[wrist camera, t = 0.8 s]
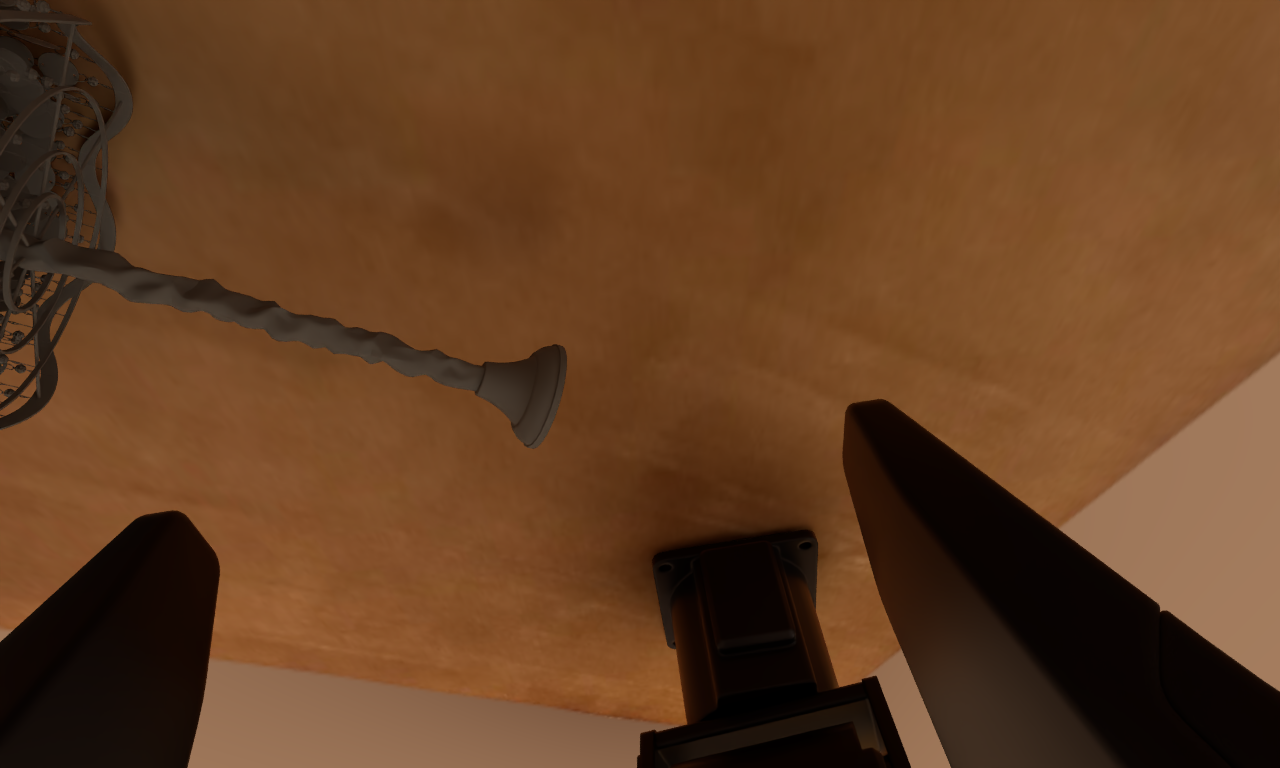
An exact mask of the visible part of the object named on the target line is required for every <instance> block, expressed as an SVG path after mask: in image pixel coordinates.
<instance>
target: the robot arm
mask: <svg viewBox="0 0 1280 768" xmlns="http://www.w3.org/2000/svg"><path fill="white" fill-rule="evenodd" d="M843 466H844V472H845V476H846V480H847V483H848V487H849V490H850V494H851V497H852V501H853V504H854V508H855V511H856V515H857V518H858V522H859V525H860V529H861V532H862V536H863V540H864V543H865V547H866V550H867V554H868V557H869V561H870V564H871V568H872V571H873V575H874V578H875V581H876V585H877V588H878V591H879V594H880V597H881V600H882V602H883V605H884V607H885V610H886V613H887V615H888V618H889V620H890V622H891V625H892V627H893V630H894V632H895V634H896V637H897V639H898V642H899V644H900V646H901V649H902V651H903V653H904V656H905V658H906V660H907V663H908V665H909V668H910V670H911V673H912V675H913V677H914V680H915V682H916V684H917V687H918V689H919V692H920V694H921V696H922V698H923V701H924V704H925V706H926V708H927V711H928V713H929V715H930V718H931V720H932V723H933V725H934V727H935V730H936V732H937V734H938V737H939V739H940V742H941V744H942V747H943V749H944V751H945V754H946V756H947V758H948V761H949V763H950V766H951V768H1280V691H1278V690H1276V689H1275V688H1273V687H1272V686H1270V685H1269V684H1267V683H1266V682H1264V681H1263V680H1262V679H1260V678H1259V677H1257V676H1256V675H1255V674H1253V673H1252V672H1251V671H1249V670H1248V669H1246V668H1245V667H1244V666H1242V665H1241V664H1239V663H1238V662H1237V661H1235V660H1234V659H1232V658H1231V657H1230V656H1228V655H1227V654H1226V653H1224V652H1223V651H1221V650H1220V649H1219V648H1217V647H1215V646H1214V645H1213V644H1211V643H1210V642H1209V641H1207V640H1206V639H1204V638H1203V637H1202V636H1200V635H1199V634H1198V633H1196V632H1195V631H1194V630H1193V629H1191V628H1190V627H1189V626H1187V625H1186V624H1185V623H1183V622H1182V621H1181V620H1179V619H1178V618H1176V617H1175V616H1174V615H1173V614H1171V613H1170V612H1168V611H1161V612H1160V606H1159V605H1158V604H1157V603H1156V602H1155V601H1153V600H1152V599H1151V598H1149V597H1148V596H1147V595H1146V594H1144V593H1143V592H1141V591H1140V590H1139V589H1138V588H1136V587H1135V586H1133V585H1132V584H1131V583H1130V582H1128V581H1127V580H1126V579H1124V578H1123V577H1121V576H1120V575H1119V574H1118V573H1116V572H1115V571H1114V570H1112V569H1111V568H1110V567H1108V566H1107V565H1106V564H1104V563H1103V562H1102V561H1100V560H1099V559H1097V558H1096V557H1095V556H1094V555H1092V554H1091V553H1090V552H1088V551H1087V550H1086V549H1084V548H1083V547H1082V546H1080V545H1079V544H1078V543H1076V542H1075V541H1074V540H1072V539H1071V538H1070V537H1068V536H1067V535H1066V534H1064V533H1063V532H1062V531H1060V530H1059V529H1058V528H1056V527H1055V526H1054V525H1052V524H1051V523H1050V522H1048V521H1047V520H1046V519H1044V518H1043V517H1042V516H1040V515H1039V514H1038V513H1036V512H1035V511H1034V510H1032V509H1031V508H1030V507H1028V506H1027V505H1026V504H1024V503H1023V502H1022V501H1020V500H1019V499H1018V498H1016V497H1015V496H1014V495H1012V494H1011V493H1010V492H1008V491H1007V490H1006V489H1004V488H1003V487H1002V486H1000V485H999V484H998V483H996V482H995V481H994V480H992V479H991V478H990V477H988V476H987V475H986V474H984V473H983V472H982V471H980V470H979V469H978V468H976V467H975V466H974V465H973V464H971V463H970V462H969V461H967V460H966V459H965V458H963V457H962V456H961V455H959V454H958V453H957V452H955V451H954V450H953V449H951V448H950V447H949V446H947V445H946V444H945V443H943V442H942V441H941V440H939V439H938V438H937V437H935V436H934V435H933V434H931V433H930V432H929V431H927V430H926V429H925V428H923V427H922V426H921V425H919V424H918V423H917V422H915V421H914V420H913V419H911V418H910V417H909V416H907V415H906V414H905V413H903V412H902V411H901V410H899V409H898V408H897V407H895V406H894V405H893V404H891V403H890V402H888V401H886V400H883V399H877V400H870V401H864V402H857V403H852V404H850V405H849V406H848V407H847V410H846V412H845V424H844V440H843ZM817 558H818V542H817V539H816V536H815V533H814V532H812V531H810V530H800V531H794V532H788V533H781V534H775V535H769V536H762V537H756V538H750V539H744V540H737V541H731V542H725V543H718V544H712V545H706V546H700V547H693V548H687V549H681V550H674V551H668V552H662V553H659V554H657V555H655V556H654V557H653V559H652V567H653V573H654V579H655V584H656V589H657V594H658V599H659V604H660V610H661V615H662V620H663V625H664V630H665V635H666V640H667V645H668V647H670V648H672V649H676V652H677V658H678V665H679V672H680V679H681V685H682V692H683V699H684V706H685V713H686V719H687V725H683V726H679V727H675V728H671V729H667V730H663V731H659V732H656V730H652V731H648V732H643V733H641V734H640V755H639V756H638V757H637V768H911V766H910V763H909V761H908V758H907V755H906V753H905V750H904V747H903V745H902V742H901V739H900V737H899V734H898V731H897V729H896V726H895V723H894V721H893V718H892V715H891V713H890V710H889V707H888V705H887V702H886V700H885V697H884V694H883V692H882V689H881V687H880V684H879V681H878V678H877V676H873V677H868V678H864V679H862V682H860V683H855V684H851V685H847V686H843V687H839V686H838V682H837V679H836V676H835V673H834V669H833V666H832V663H831V660H830V656H829V653H828V650H827V647H826V643H825V640H824V637H823V634H822V630H821V627H820V624H819V620H818V617H817V614H816V584H817ZM219 577H220V566H219V561H218V558H217V556H216V553H215V552H214V550H213V549H212V548H211V546H210V545H209V544H208V542H207V541H206V540H205V539H204V537H203V536H202V535H201V533H200V532H199V531H198V530H197V528H196V527H195V526H194V525H193V523H192V522H191V521H190V519H189V518H188V517H187V516H186V515H185V514H183V513H181V512H179V511H166V512H160V513H154V514H147V515H144V516H141V517H139V518H137V519H135V520H134V521H133V522H132V523H131V524H130V525H128V526H127V527H126V528H125V529H124V530H123V531H122V532H121V533H120V534H119V535H118V536H116V537H115V538H114V539H113V540H112V541H111V542H110V543H109V544H108V545H107V546H105V547H104V548H103V549H102V550H101V551H100V552H99V553H98V554H97V555H96V556H94V557H93V558H92V559H91V560H90V561H89V562H88V563H87V564H86V565H85V566H83V567H82V568H81V569H80V570H79V571H78V572H77V573H76V574H75V575H74V576H72V577H71V578H70V579H69V580H68V581H67V582H66V583H65V584H64V585H63V586H61V587H60V588H59V589H58V590H57V591H56V592H55V593H54V594H53V595H52V596H50V597H49V598H48V599H47V600H46V601H45V602H44V603H43V604H42V605H41V606H39V607H38V608H37V609H36V610H35V611H34V612H33V613H32V614H31V615H30V616H28V617H27V618H26V619H25V620H24V621H23V622H22V623H21V624H20V625H19V626H17V627H16V628H15V629H14V630H13V631H12V632H11V633H10V634H9V635H8V636H7V637H6V638H4V639H3V640H2V641H1V642H0V768H187V767H188V763H189V759H190V754H191V750H192V746H193V742H194V738H195V734H196V730H197V725H198V721H199V716H200V712H201V707H202V703H203V697H204V691H205V685H206V678H207V671H208V663H209V656H210V648H211V640H212V632H213V624H214V616H215V608H216V601H217V593H218V585H219Z"/></svg>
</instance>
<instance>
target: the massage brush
mask: <svg viewBox="0 0 1280 768" xmlns="http://www.w3.org/2000/svg"><path fill="white" fill-rule="evenodd" d="M15 5H17V6H15ZM34 5H35V6H34ZM34 5H30V3H29V2H28V1H27V0H0V23H1V24H3V25H5V26H7V27H9V28H12V29H10V30H15V29H16V31H17V30H26V29H27V28H28V27H29V24H30V23H29V22H37V24H36V26H35V27H37V26H39V30H41V31H42V32H44V33H46V32H49V31H50V30H51V29H50V25H49V24H47V23H56V24H57V25H58V27H59V28H60V30H61V31H62V32H63V33H64V34H65V35H66V37H68V41H67V47H66V48H65V47H64V48H65V49H66V51H65V53H64V54H65V57H63V56H62V55H59V54H60V53H58V52H57V53H58V54H56V53H51V52H49V53H44V54H42V55H41V56H40V57H39V59H38V65H36V66H39V68H40V70H41V72H42V73H43V75H44V76H43V77H41V79H40V76H38V75H39V74H38V73H37V71H36V70H34V69H32V67H33V65H34V59H37V58H33V56H32V53H31V52H30V50H29V49H28V48H27V47H26V46H25V45H24V44H23V43H21V42H20V41H18V40H17V39H15V38H12V37H9V36H0V260H3V261H0V312H2V311H7V312H6V315H5V317H4V316H3V315H2V314H0V324H1V323H2V326H0V341H1V339H2V338H3V337H4V335H5V334H4V332H5V331H6V330H5V328H6V325H7V322H10V323H11V321H8V320H9V317H10V314H11V313H12V314H19V313H25V314H26V311H28V310H30V311H32V312H33V327H31V328H33V329H32V330H31V332H30V333H29V334H28V335H27V336H26V337H25V336H24V333H22V332H21V331H16V332H14V333H13V334H12V333H10V332H9V333H10V335H7V336H11V334H12V335H13V338H12V339H11V340H10V339H9V338H8V339H9V341H11V343H13V344H17V345H14V347H12V348H10V349H7V350H0V374H1V373H3V372H4V370H5V369H8V368H6V366H7V362H8V361H10V360H8V357H7V356H6V355H5V354H11V353H14V352H16V351H18V350H20V349H21V348H23V347H24V346H25V345H26V344H27V343H29V342H30V341H31V340H33V337H34V349H35V366H32V367H35V368H34V370H33V371H32V372H31V371H30V370H27V371H30V372H31V374H30V375H29V376H28V378H27V379H26V380H25V381H24V382H23V384H22V385H21V386H20V387H17V388H18V389H17V390H16V391H14V390H12V389H7V390H5V392H4V395H5V396H7V397H8V398H7V399H6V400H5V401H4V402H1V404H0V410H2V409H3V408H5V407H6V406H8V405H9V404H10V403H11V402H13V401H14V400H15V399H16V398H17V397H18V396H19V395H20V394H21V393H22V392H23V391H24V390H25V389H26V388H27V387H28V385H29V384H30V383H31V382H32V381H33V379H34V378H35V377H36V387H37V389H36V391H35V393H34V394H33V395H32V397H31V398H30V399H29V400H28V402H26V403H25V404H24V405H23V406H22V407H21V408H19V409H18V410H16V411H14V412H13V413H11V414H9V415H7V416H4V417H2V418H0V430H2V429H5V428H8V427H11V426H14V425H16V424H19V423H21V422H23V421H25V420H27V419H29V418H31V417H32V416H34V415H35V414H37V413H38V412H39V411H41V410H42V409H43V408H44V407H45V406H46V404H47V403H48V402H49V401H50V399H51V398H52V396H53V394H54V392H55V389H56V386H57V381H58V368H57V363H56V358H55V355H54V352H53V349H54V348H55V346H56V344H57V342H58V341H59V339H60V337H61V335H62V333H63V331H64V329H65V327H66V325H67V323H68V321H69V319H70V316H71V314H72V312H73V310H74V307H75V305H76V302H77V300H78V298H79V295H80V292H81V291H82V290H84V289H85V288H87V287H88V286H89V285H90V284H92V283H93V282H94V283H100V284H102V285H104V286H106V287H108V288H111V289H113V290H115V291H117V292H118V293H119V294H121V295H122V296H123V297H124V298H126V299H127V300H129V301H131V302H138V303H149V304H164V305H170V306H172V307H174V308H176V309H178V310H180V311H183V312H190V313H192V312H197V311H204V312H207V313H209V314H211V315H212V316H213V317H214V318H216V319H218V320H220V321H225V322H236V323H237V324H239V325H241V326H243V327H245V328H252V329H264V330H266V331H267V333H268V334H269V335H270V336H271V337H272V338H273V339H275V340H277V341H284V342H288V341H300V342H303V343H305V344H307V345H309V346H310V347H312V348H323V347H326V348H327V349H328V350H330V351H331V352H332V353H334V354H348V355H353V356H359V357H361V358H363V359H364V360H365V361H366V362H368V363H369V364H374V363H378V362H381V361H384V362H385V363H387V364H388V365H389V366H391V367H392V368H393V369H394V370H396V371H397V372H399V373H401V374H403V375H405V376H409V377H415V376H420V375H427V376H429V377H431V378H432V379H433V380H434V381H436V382H438V383H440V384H443V385H446V386H449V387H454V388H459V389H466V390H472V391H475V395H477V396H479V397H481V398H483V399H485V400H487V401H488V402H490V403H492V404H493V405H495V406H496V407H497V408H499V409H500V410H501V411H502V412H503V413H504V414H505V415H506V416H507V417H508V418H509V419H510V421H511V426H512V429H513V431H514V433H515V435H516V437H517V438H518V439H519V440H520V441H521V442H523V443H524V445H525V446H526V447H528V448H532V449H534V448H537V447H538V446H539V445H540V444H541V443H542V441H543V440H544V438H545V437H546V435H547V433H548V431H549V429H550V427H551V425H552V423H553V420H554V418H555V415H556V412H557V410H558V407H559V403H560V400H561V396H562V392H563V388H564V383H565V377H566V369H567V355H566V351H565V348H564V347H563V346H560V345H557V344H554V345H552V346H547V347H543V348H541V349H539V350H537V351H536V352H534V353H533V354H532V355H531V356H530V357H529V358H528V359H524V360H521V361H517V362H509V363H495V362H484V364H483V365H482V366H479V365H473V364H470V363H468V362H465V361H463V360H460V359H457V358H452V357H449V356H447V355H445V354H444V353H443V352H441V351H439V350H437V349H436V350H430V351H419V350H415V349H413V348H412V347H410V346H408V345H406V344H405V343H404V342H402V341H401V340H399V339H398V338H397V337H395V336H393V335H391V334H387V333H384V332H369V331H367V330H365V329H362V328H358V327H354V328H346V327H344V326H343V325H342V324H340V323H339V322H338V321H337V320H336V319H332V318H322V317H318V316H313V315H296V314H293V313H291V312H289V311H287V310H285V309H283V308H281V307H280V306H279V305H278V304H277V303H276V302H275V301H260V300H257V299H255V298H253V297H251V296H248V295H244V294H240V293H237V292H232V291H229V290H227V289H225V288H223V287H222V286H221V285H220V284H219V283H218V282H217V281H215V280H214V279H205V280H194V279H190V278H187V277H179V276H172V275H165V274H158V273H154V272H151V271H149V270H146V269H143V268H139V267H134V266H132V265H131V264H130V263H129V262H128V261H127V260H126V259H125V258H123V257H122V256H121V255H119V254H118V253H115V252H114V249H115V244H116V227H115V222H114V218H113V215H112V212H111V209H110V207H109V205H108V202H107V200H106V198H105V196H106V187H107V175H108V144H107V142H108V141H109V140H110V139H112V138H113V137H114V136H115V135H117V134H118V133H119V132H120V131H121V130H122V129H123V128H124V127H125V126H126V124H127V123H128V121H129V120H130V117H131V115H132V110H133V100H132V95H131V92H130V89H129V87H128V85H127V83H126V82H125V80H124V79H123V77H122V76H121V75H120V74H119V72H118V71H117V70H116V69H115V68H114V67H113V66H112V65H111V64H110V63H109V62H108V61H107V60H106V59H105V58H104V57H103V56H102V55H100V54H99V53H98V52H97V51H96V50H95V49H94V48H93V47H92V46H91V45H90V44H89V43H87V42H86V40H85V39H84V38H83V37H82V36H81V35H80V33H79V32H78V30H77V28H76V26H78V25H92V22H89V21H87V20H84V19H81V18H79V17H76V16H73V15H70V14H64V13H63V14H62V12H61V14H60V12H58V13H57V11H55V10H53V12H55V13H48V12H49V11H52V9H50V7H49V4H48V3H47V2H45V1H42V0H39V1H38V2H37V3H36V1H35V0H34ZM38 22H41V23H39V25H38ZM45 22H46V23H45ZM35 27H29V28H35ZM0 30H3V31H6V32H7V33H8V32H10V33H13V32H12V31H10V30H7V29H5V28H3V27H0ZM52 31H54V30H52ZM18 32H19V31H18ZM54 32H57V31H54ZM57 33H59V34H60V33H61V32H57ZM63 33H62V34H63ZM64 34H63V36H65V35H64ZM9 35H10V34H9ZM14 35H15V36H13V37H19V38H21V39H23V40H26V41H28V42H31V43H34V44H37V45H40V46H44V47H47V48H51V49H55V51H56V49H57V50H60V48H59V47H63V46H56V45H53V44H51V43H48V42H46V41H43V40H40V39H37V38H34V37H30V36H27V35H22V34H20V32H19V34H14ZM60 35H61V34H60ZM10 36H11V35H10ZM72 42H73V43H75V44H76V45H77V46H78V47H79V48H80V49H81V50H82V51H83V52H85V53H86V54H87V55H88V56H89V57H90V58H91V59H92V60H93V61H94V62H93V61H91V60H90V59H89V60H90V62H93V63H96V64H97V65H98V66H99V67H100V68H101V69H102V71H103V72H104V73H105V74H106V76H107V77H108V79H109V80H110V82H111V84H112V87H113V89H112V90H114V93H115V109H114V111H112V112H113V114H112V115H111V117H110V119H109V120H108V121H107V122H106V123H105V124H104V120H103V116H102V114H101V111H100V109H99V103H98V102H97V101H96V100H95V99H93V97H92V96H91V95H90V94H89V93H87V92H86V91H84V90H82V89H80V88H77V87H74V85H75V84H76V83H77V82H78V80H79V74H78V71H77V69H76V67H75V66H74V65H73V64H72V63H71V62H70V61H69V57H70V58H72V59H78V58H79V57H81V56H79V52H77V51H76V50H75V49H71V46H72ZM28 58H29V59H31V60H30V61H29V60H28ZM82 58H84V57H82ZM84 59H85V58H84ZM86 60H87V61H89V60H88V59H87V58H86ZM42 63H43V64H44V65H42ZM73 74H74V75H76V76H75V77H74V76H73ZM82 75H83V74H82ZM84 76H85V75H84ZM37 77H39V78H38V79H39V80H41V84H40V82H39V80H37V79H36V78H37ZM85 77H86V76H85ZM85 81H87V83H88V84H90V85H91V86H97V85H98V84H99V83H98V80H97V79H96V78H95V77H89V78H88V79H87V77H86V79H85ZM79 82H84V81H79ZM54 83H55V85H58V87H55V88H51V86H52V84H54ZM42 84H43V85H42ZM101 85H102V84H101ZM102 86H103V85H102ZM105 86H106V85H104V87H105ZM107 87H108V86H106V88H107ZM45 89H46V90H48V91H46V90H45ZM109 89H111V88H110V87H109ZM68 90H70V91H72V90H76V91H79V92H80V93H79V94H81V93H82V95H84V96H85V97H86V98H87V99H88V100H89V102H88V103H87V100H86V99H85V98H83V99H85V100H86V103H87V104H88V105H89V106H88V107H91V108H92V109H94V112H95V114H96V117H97V120H98V124H99V130H97V131H96V132H95V133H94V134H93V135H91V136H90V137H89V138H87V137H86V138H87V140H86V141H85V143H84V144H83V146H82V147H81V150H80V152H79V151H77V150H74V149H73V148H72V150H74V151H77V152H79V157H78V162H77V160H76V158H75V156H74V155H72V154H69V153H67V152H64V151H60V150H57V148H58V149H64V148H65V147H66V146H65V144H64V142H62V141H56V142H54V138H55V133H56V130H58V129H59V128H61V127H62V125H63V123H64V119H68V118H64V114H68V113H69V112H72V111H70V107H68V106H67V105H65V104H61V100H62V99H64V98H67V99H69V100H71V101H73V102H74V100H75V101H76V103H79V102H78V101H80V99H78V98H76V97H74V96H72V95H70V94H67V93H65V92H63V91H68ZM73 92H75V91H73ZM76 93H78V92H76ZM50 97H54V98H55V99H57V102H54V101H52V100H51V99H49V98H50ZM86 103H79V104H83V105H84V104H86ZM86 106H87V105H86ZM100 107H102V106H100ZM102 108H103V107H102ZM105 108H106V107H104V109H105ZM107 109H108V108H106V109H105V110H107ZM109 111H111V110H110V109H109ZM73 113H75V114H76V112H73ZM16 114H18V116H16ZM79 114H80V113H77V115H79ZM80 115H81V114H80ZM80 115H79V116H80ZM11 116H13V120H14V121H13V123H12V122H10V123H12V124H11V125H8V126H7V128H8V129H7V131H6V130H4V129H5V128H4V127H5V126H3V124H2V123H1V122H2V121H6V120H5V119H6V118H7V117H11ZM82 117H84V116H83V115H82ZM59 118H61V120H59ZM86 118H88V117H86ZM89 119H91V118H89ZM69 120H70V119H69ZM92 120H93V119H92ZM70 121H71V120H70ZM95 121H96V120H95ZM7 122H9V121H7ZM64 124H65V123H64ZM69 124H72V125H73V126H74V127H75V128H76V129H81V128H82V127H85V126H83V123H82V122H81V121H80V120H73V122H72V121H71V122H70V123H69ZM86 128H87V129H89V127H86ZM89 130H91V128H90V129H89ZM60 131H63V132H64V133H65V134H66V135H67V136H74V134H76V133H75V130H74V129H73V128H72V127H65V128H64V129H63V128H62V129H61V130H60ZM92 131H95V130H93V129H92ZM57 132H59V131H57ZM78 135H79V136H80V134H78ZM81 137H83V138H85V136H83V135H82V136H81ZM21 143H22V144H21ZM20 144H21V145H20ZM68 148H69V149H70V147H68ZM101 148H102V169H101V170H102V179H101V188H100V185H99V183H98V180H97V176H96V169H95V168H96V167H95V164H96V158H97V155H98V152H99V150H100V149H101ZM70 150H71V149H70ZM61 154H64V155H66V156H65V158H64V155H63V158H64V159H65V160H66V161H67V162H68V163H69V164H70V163H72V164H73V167H74V169H75V173H76V175H75V176H73V177H74V178H73V177H70V178H72V179H73V180H72V181H71V183H68V182H65V184H64V186H62V185H61V186H62V187H64V189H65V190H66V191H65V193H64V195H63V196H62V198H61V197H60V196H59V195H58V194H56V193H54V192H52V191H50V190H51V189H52V188H53V187H54V185H55V175H58V174H59V176H60V178H61V179H67V180H68V178H69V174H68V173H67V172H66V171H60V172H59V173H58V172H57V171H59V170H56V169H52V168H51V164H50V162H52V161H53V160H54V159H55V158H56V155H61ZM57 159H62V158H57ZM98 169H99V168H98ZM53 170H54V171H55V172H57V174H54V172H53ZM10 172H15V178H14V177H12V176H10V175H8V174H9V173H10ZM70 176H72V175H70ZM49 181H52V182H51V183H49ZM76 181H77V184H78V189H77V190H78V204H76V205H75V206H74V210H75V211H76V212H77V219H76V222H75V223H76V225H75V231H74V236H73V237H72V236H71V237H69V238H73V240H72V244H71V243H69V242H66V241H65V238H66V237H67V236H69V235H67V227H66V225H67V222H68V220H70V219H69V217H68V215H66V203H65V202H64V201H65V199H66V198H67V196H68V194H69V193H70V191H73V190H74V189H75V188H74V184H75V183H76ZM57 183H59V182H57ZM60 184H61V183H60ZM84 184H85V187H86V189H87V191H88V193H87V194H89V195H90V197H91V199H92V201H93V204H94V206H95V209H96V212H97V214H96V215H97V217H96V222H95V227H93V228H94V231H93V235H92V240H91V241H89V243H90V242H91V243H90V247H89V248H84V247H80V246H77V245H78V243H83V241H86V240H84V237H83V236H82V235H80V231H81V226H82V220H83V211H84V193H86V192H84ZM56 186H58V185H56ZM69 206H70V205H68V206H67V207H69ZM71 207H72V208H73V206H71ZM52 211H53V213H52V214H51V212H52ZM85 211H87V210H85ZM45 212H46V213H47V214H44V213H45ZM57 212H59V213H60V215H59V216H57V215H56V214H59V213H57ZM87 212H88V211H87ZM68 213H70V212H68ZM89 213H92V212H91V211H90V212H89ZM50 214H51V215H50ZM71 214H73V213H71ZM93 214H95V213H93ZM74 215H76V214H74ZM72 221H73V222H74V221H75V220H72ZM27 223H31V224H30V225H29V224H27ZM33 225H34V226H33ZM83 225H85V224H83ZM86 226H88V225H86ZM90 227H92V226H90ZM99 230H100V239H99V244H96V242H97V238H98V234H99ZM87 242H88V241H87ZM96 245H98V248H97V249H95V246H96ZM35 271H40V272H46V273H47V275H42V276H41V277H40V279H41V282H43V283H42V285H41V284H40V283H41V282H39V283H35V282H37V281H35V278H38V279H39V277H36V276H35ZM54 273H58V274H62V276H61V279H60V281H59V283H57V282H58V281H56V282H55V281H54V282H55V283H57V284H58V286H57V288H56V290H55V293H54V294H53V295H52V296H51V297H49V298H48V299H47V300H46V299H44V300H46V301H45V302H44V303H43V304H42V305H41V307H40V308H39V305H37V304H36V303H37V302H38V301H39V300H40V299H42V298H41V297H42V296H43V294H44V293H45V291H46V289H47V288H48V286H49V284H50V282H51V281H53V280H52V278H53V276H54ZM26 274H28V275H26ZM68 276H72V277H75V278H76V279H74V280H73V281H72V282H70V283H69V284H68V285H66V284H65V282H66V280H67V277H68ZM30 277H31V285H27V284H24V283H25V279H26V280H30V279H28V278H30ZM23 285H27V286H30V287H31V293H32V295H31V296H29V297H32V299H31V300H30V301H29V302H28V303H27V304H24V305H22V306H20V307H17V306H19V305H20V302H21V298H20V296H21V295H22V294H24V293H23V290H22V289H20V288H21V287H22V286H23ZM64 285H66V286H65V287H64ZM48 290H49V292H50V289H47V291H48ZM36 291H37V293H36ZM52 292H54V291H52ZM26 295H27V296H28V295H30V294H26ZM72 297H73V298H72ZM70 298H72V300H71V303H70V305H69V307H68V309H67V312H66V314H65V315H63V316H64V318H63V320H62V322H61V324H60V327H59V329H58V331H57V332H56V334H55V336H54V338H53V340H52V342H51V341H50V326H51V322H52V319H53V317H54V315H55V314H57V313H56V312H57V311H58V310H59V308H60V307H61V306H62V305H63V304H64V303H65V302H67V301H68V300H69V299H70ZM21 304H23V303H21ZM37 310H38V311H37ZM26 315H32V314H29V313H28V314H26ZM59 315H61V314H59ZM14 323H15V322H13V323H12V324H14ZM17 324H19V323H17ZM20 325H22V324H20ZM24 326H26V325H24ZM28 327H30V326H28ZM7 332H8V331H7ZM23 337H25V338H24V339H23V340H22V338H23ZM6 338H7V337H6ZM4 340H5V339H4ZM2 343H4V342H2ZM5 344H8V343H5ZM10 345H12V344H10ZM28 345H33V344H30V343H29V344H28ZM39 358H40V361H39ZM11 362H13V363H15V362H16V361H11ZM1 364H3V366H1ZM16 364H20V363H19V362H16ZM22 364H23V363H21V365H17V366H16V367H13V366H12V365H11V364H9V365H11V366H12V367H13V369H15V371H17V372H18V373H23V372H25V371H26V367H25V366H24V365H26V364H24V365H22ZM28 366H30V365H28ZM13 369H9V370H13ZM40 370H41V373H40V372H39V371H40ZM40 374H41V377H40ZM0 385H6V384H3V383H1V384H0ZM8 386H11V385H8ZM13 387H15V386H13ZM1 391H2V390H1ZM2 394H3V391H2ZM21 396H23V395H20V397H21ZM23 397H24V398H29V397H26V396H23ZM2 416H3V415H2Z"/></svg>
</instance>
